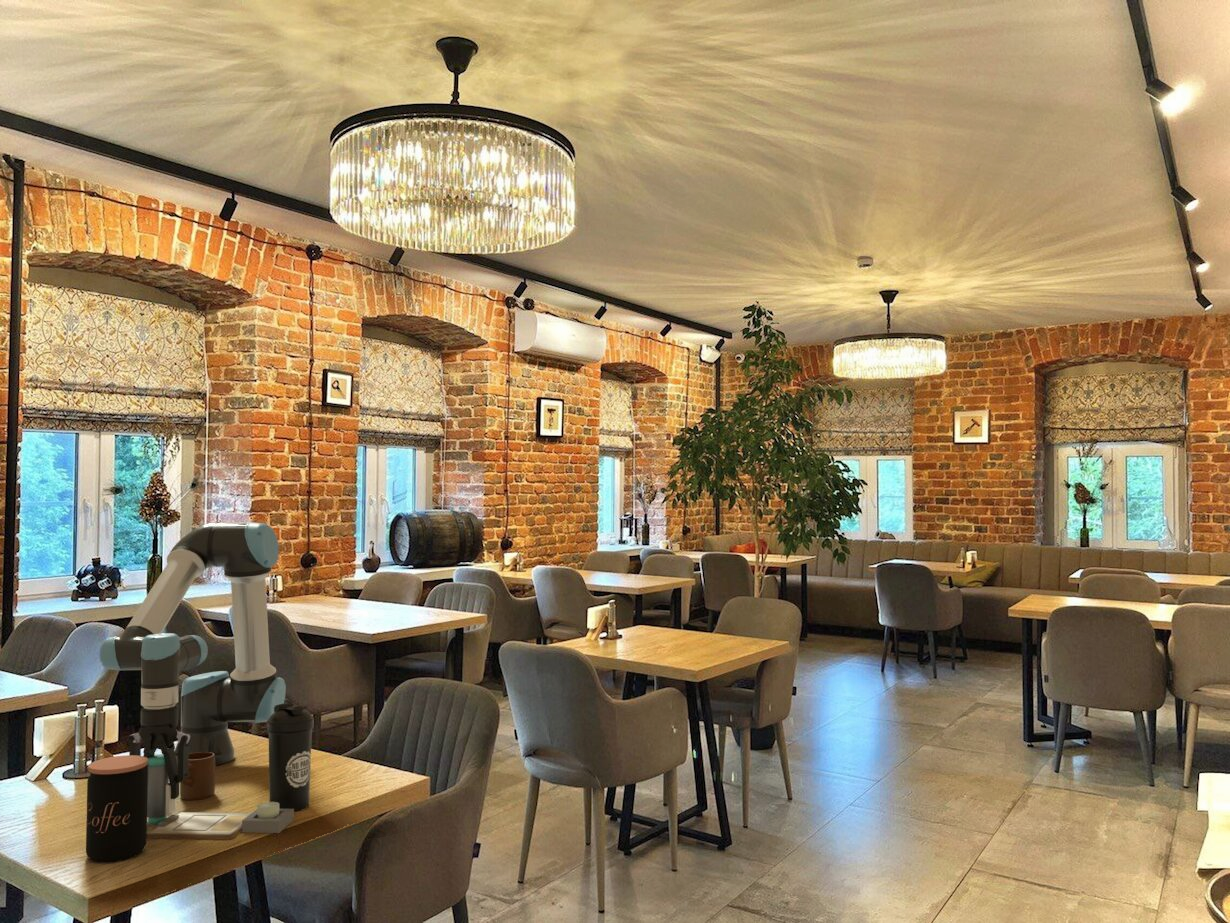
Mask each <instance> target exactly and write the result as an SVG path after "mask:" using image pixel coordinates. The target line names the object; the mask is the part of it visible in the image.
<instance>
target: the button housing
mask: <svg viewBox="0 0 1230 923" xmlns="http://www.w3.org/2000/svg"><path fill="white" fill-rule="evenodd" d="M257 812H258V808H255V810H254V811H252V812H250V813H251V814H250V815H249V816H247V817H246V818H245V819H243V820H242V831H241V833H242V834H243V833H244V832H246V833H245V834H247V833H248V834H251V833H252V834H253V833H254V834H255V833H257V834H280V833H281V832H282V831H283V830H285V828H287V827H288V826H289V825H290V824H291V823H292V822H294V820H295V819H294V818H295V817H294V816H295V814H294V813H295V812H294V809H279V816H278V817H276V818H275V819H269V818H257Z"/></svg>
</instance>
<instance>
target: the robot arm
mask: <svg viewBox="0 0 1230 923" xmlns="http://www.w3.org/2000/svg"><path fill="white" fill-rule="evenodd" d="M279 549H280V547H279V540H278V537H277V535H276V532H275V531H274V529H273V528H272V526H270V525H269V524H267V523H264V522H263V523H262V522H261V523H260V522H253V521H246V522H244V521H243V522H241V521H240V522H239V521H237V522H210V523H205V524H202V525H200V526H198V527H196V528H195V529H193V530H191V531H190V532H188V533H186V534H185V535H184V536H183V537H182V538H181V539H180V540H179V541H177V543H175V545H174V546H173V547H172V548H171V550H170V552H169V553H168V555H167V556H166V565H165V567H164V568H163V570H162V572H161V573H160V574H159V576H158V578H157V579H156V581H155V582H154V583H153V585H152V587H151V589H150V590H149V592H148V593H147V594H146V596H145V599H143V601H142V603H141V604H140V606H139V607H138V609H137V611H136V612H135V613H134V615H133V617H131V620H130V622H129V623H128V624H127V626H126V627H125V629H124V630H123V631H122V633H121V635H120V636H119V635H118V636H117V635H115V636H109V637H108V638H107V639H104V640H103V642H102V643H101V646H100V648H99V661H100V663H101V666H102V667H104V669H107V670H113V671H120V672H121V671H141V672H140V673H141V675H140V676H141V677H140V678H141V683H140V684H141V686H140V706H141V707H142V708H141V709H140V725H141V726H140V729H139V731H138V732H135V733H133V734H130V735H128V736H127V737H126V742H127V743H128V748H129V749H128V751H129V752H128V753H129V754H128V755H137V756H142V755H141V754H142V753H141V752H142V750H141V748H142V747H141V746H142V744H141V741H143V743H144V747H143V756H144V757H147V759H148V758H150V757H152V756H154V755H156V754H155V753H156V751H157V750H161V754H163V755H164V759H165V764H166V769H167V773H168V778H169V783H168V784H167V785H166V817H169V816H171V815H173V814H174V813H175V812H176V799H178V798H179V796H180V782H181V781H183V780H185V779H186V778H188V774H189V754H190V753H196V752H211V753H214V754H215V766H218V765H224V764H226V763H228V762H231V761H232V760H234V759H235V747H234V745H233V741H232V739H231V735H230V732H229V730H228V726H229V725H228V724H229V723H255V724H259V723H267V721H268V720H269V718H270V716H271V715H272V714H273V713H275V712H274V707H275V706H276V705H279V704H284V703H285V698H286V691H287V685H286V682H285V679H284V678H282V677H280V676H279V677H278V676H277V668H276V667H275V666H273V665H272V664H271V660H270V642H269V641H270V640H269V621H268V604H267V603H268V602H267V600H268V599H267V583H266V578H267V577H268V575H270V574H271V572H272V567H275V565H276V564H277V562H278V560H279V556H278V555H279V553H280V552H279V551H280V550H279ZM212 567H215V568H218V567H219V568H220V567H221V568H223V575H224V577H225V578H227V579H228V580H229V582H230V585H231V587H230V589H231V602H232V605H231V606H232V607H231V608H232V619H233V620H232V623H233V641H234V643H233V644H234V656H235V657H234V658H235V668H234V669H233V670H232V671H231V673H230V674H229V672H228V671H227V670H220V671H219V670H218V671H211V672H204V673H200V674H196V675H192V676H190V677H186V678H185V679H184V680H183V681H182V684H181V693H180V687H179V684H180V683H179V682H180V681H179V680H180V679H179V678H180V673H182V672H185V671H188V670H192V669H195V668H196V667H197V666H200V665H202V664H203V662H205V660H206V659H207V656H208V651H209V650H208V649H209V648H208V645H207V642H206V640H204V638H202V637H201V636H199V635H195V634H191V635H189V634H188V635H183V636H179V635H178V634H176V633H173V632H172V633H170V632H168V633H167V632H165V633H163V632H164V630H165V629H166V627H167V625H168V624H169V622H170V620H171V618H172V617H173V615H174V614H175V612H176V610H177V609H178V607H179V606H180V604H181V602H182V601H183V599H184V597H185V595H186V593H188V591H189V589H190V587H191V586H192V584H193V582H194V581H195V579H196V578H198V577H200V576H202V575H203V574H204V572H205V570H207V569H208V568H212ZM179 699H180V700H179ZM179 701H180V706H179V705H178V703H179ZM179 707H180V708H179ZM179 709H180V711H179ZM179 712H180V714H179ZM179 715H180V728H179ZM176 739H177V743H176V746H175V741H176ZM145 768H146V770H147V771H148V765H146V766H145Z"/></svg>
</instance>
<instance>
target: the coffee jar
mask: <svg viewBox="0 0 1230 923" xmlns="http://www.w3.org/2000/svg"><path fill="white" fill-rule="evenodd" d="M147 764H148V759H147V757H144V755H141V756H137V755H129V754H128V755H117V756H109V757H106V758H101V759H97V760H95V761H92V762H90V763H89V764H88V765H87V771H88V772H89V773H90V774H89V776H88V777H87V781H86V782H87V783H86V784H87V785H86V786H87V787H86V828H85V830H86V832H85V853H86V856H87V858H88V859H89V860H90V861H91V862H93V863H98V864H111V863H112V864H113V863H117V862H118V863H119V862H124V861H127V860H130V859H133V858H135V857H138V856H139V855H140V854H142V853H143V850H145V848H146V846H147V841H148V840H147V839H148V838H147V833H148V817H147V799H148V771H147V770H146V768H145V766H146V765H147Z"/></svg>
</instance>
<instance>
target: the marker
mask: <svg viewBox="0 0 1230 923" xmlns="http://www.w3.org/2000/svg"><path fill="white" fill-rule="evenodd" d="M147 765H148V799H147V825H148V824H149V825H157V824H158V823H160V822H161V821H163V820H164V819H166V818H167V816H166V785H167V784H168V783H169V778H168V773H167V769H166V764H165V759H164V755H163V754H162V753H159V754H154V756H152V757H150V758H148V764H147Z"/></svg>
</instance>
